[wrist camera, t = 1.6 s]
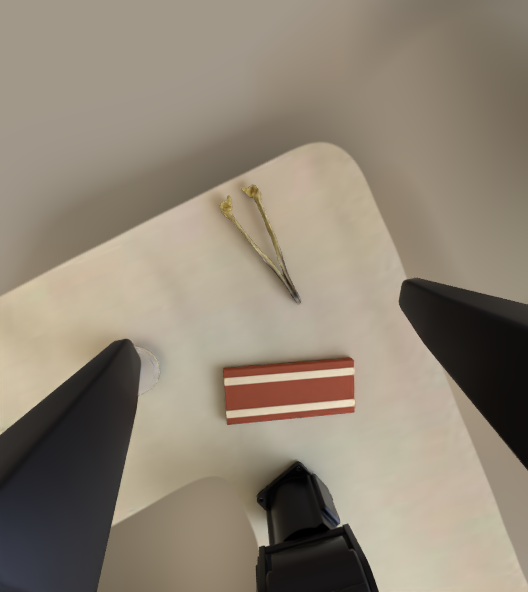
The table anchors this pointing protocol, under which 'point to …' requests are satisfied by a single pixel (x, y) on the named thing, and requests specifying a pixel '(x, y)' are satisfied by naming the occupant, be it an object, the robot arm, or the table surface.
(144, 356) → the screw
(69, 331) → the table surface
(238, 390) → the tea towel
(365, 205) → the table surface
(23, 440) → the robot arm
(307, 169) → the table surface
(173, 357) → the table surface
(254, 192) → the tongs
